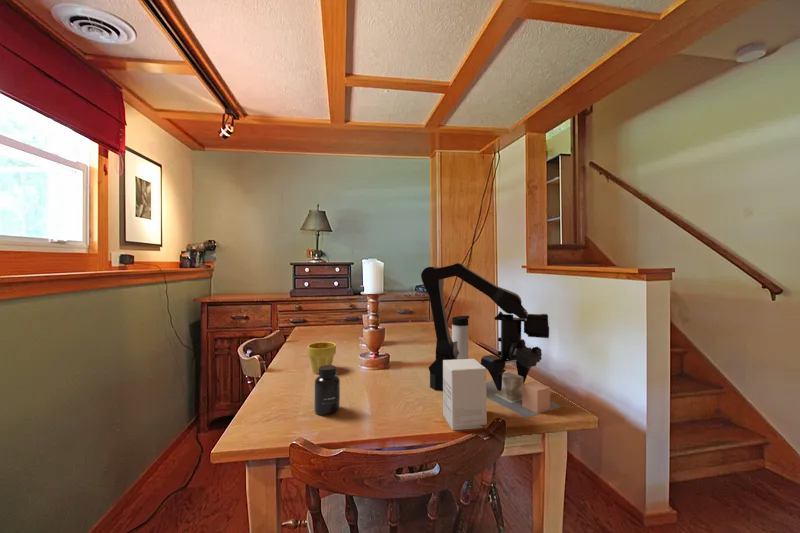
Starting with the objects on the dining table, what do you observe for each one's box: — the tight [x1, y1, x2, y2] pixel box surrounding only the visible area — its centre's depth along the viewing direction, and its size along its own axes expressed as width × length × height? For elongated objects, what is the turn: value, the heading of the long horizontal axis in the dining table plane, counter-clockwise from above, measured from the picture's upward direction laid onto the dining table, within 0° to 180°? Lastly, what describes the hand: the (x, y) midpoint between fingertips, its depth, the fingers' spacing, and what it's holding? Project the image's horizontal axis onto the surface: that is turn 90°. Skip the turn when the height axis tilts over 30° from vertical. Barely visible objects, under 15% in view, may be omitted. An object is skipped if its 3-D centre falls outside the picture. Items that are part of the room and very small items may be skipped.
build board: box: [486, 380, 563, 419], centre depth 101 cm, size 14×24×1 cm, turn 29°
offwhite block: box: [498, 371, 523, 401], centre depth 101 cm, size 5×5×6 cm
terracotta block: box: [522, 381, 551, 413], centre depth 93 cm, size 5×5×6 cm
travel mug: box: [451, 315, 470, 359], centre depth 131 cm, size 6×7×20 cm
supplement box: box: [442, 358, 488, 431], centre depth 87 cm, size 9×9×15 cm
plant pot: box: [307, 341, 337, 374], centre depth 127 cm, size 10×10×10 cm
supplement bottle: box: [313, 364, 341, 416], centre depth 93 cm, size 7×7×12 cm
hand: (510, 387), depth 101 cm, fingers open, 9 cm apart
